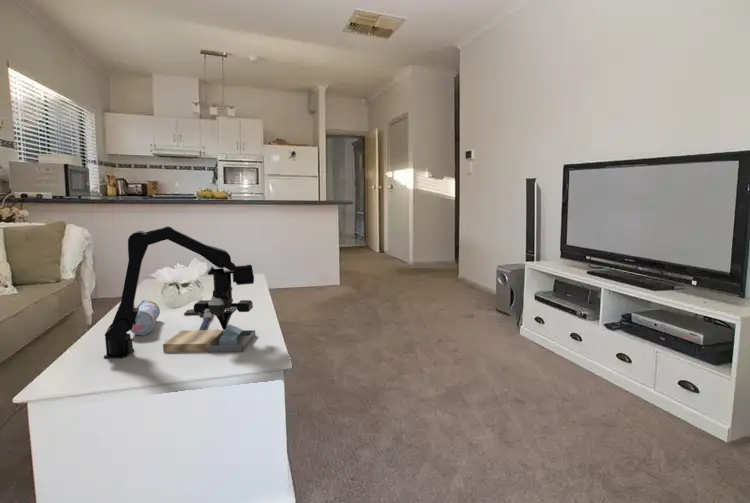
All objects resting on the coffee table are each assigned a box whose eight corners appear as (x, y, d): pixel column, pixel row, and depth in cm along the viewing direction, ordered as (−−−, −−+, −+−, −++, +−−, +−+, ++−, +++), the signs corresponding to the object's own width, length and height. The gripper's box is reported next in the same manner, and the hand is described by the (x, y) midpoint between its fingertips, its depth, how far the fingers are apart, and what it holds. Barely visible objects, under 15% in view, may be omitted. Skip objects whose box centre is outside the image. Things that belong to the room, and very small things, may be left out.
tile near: (219, 348, 143) (219, 340, 142) (222, 342, 147) (221, 335, 147) (235, 347, 143) (235, 339, 143) (237, 341, 148) (237, 334, 148)
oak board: (163, 351, 141) (162, 344, 140) (181, 337, 155) (181, 330, 154) (209, 351, 141) (209, 343, 141) (223, 336, 155) (223, 330, 155)
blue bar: (186, 309, 187) (215, 306, 190) (186, 314, 187) (216, 311, 190) (170, 334, 154) (206, 330, 156) (170, 340, 154) (206, 336, 157)
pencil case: (136, 322, 173) (135, 299, 172) (161, 319, 176) (159, 297, 175) (128, 338, 154) (125, 312, 153) (155, 335, 157) (153, 310, 156)
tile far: (222, 334, 149) (225, 328, 149) (226, 329, 154) (229, 323, 154) (236, 340, 150) (239, 334, 149) (239, 335, 155) (242, 329, 154)
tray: (208, 352, 140) (207, 346, 140) (224, 335, 156) (223, 330, 156) (243, 351, 140) (242, 345, 140) (255, 335, 156) (255, 330, 156)
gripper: (185, 291, 141) (188, 338, 143) (243, 291, 141) (245, 337, 143) (198, 284, 152) (201, 327, 154) (252, 284, 152) (253, 327, 154)
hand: (224, 330), depth 151 cm, fingers closed
